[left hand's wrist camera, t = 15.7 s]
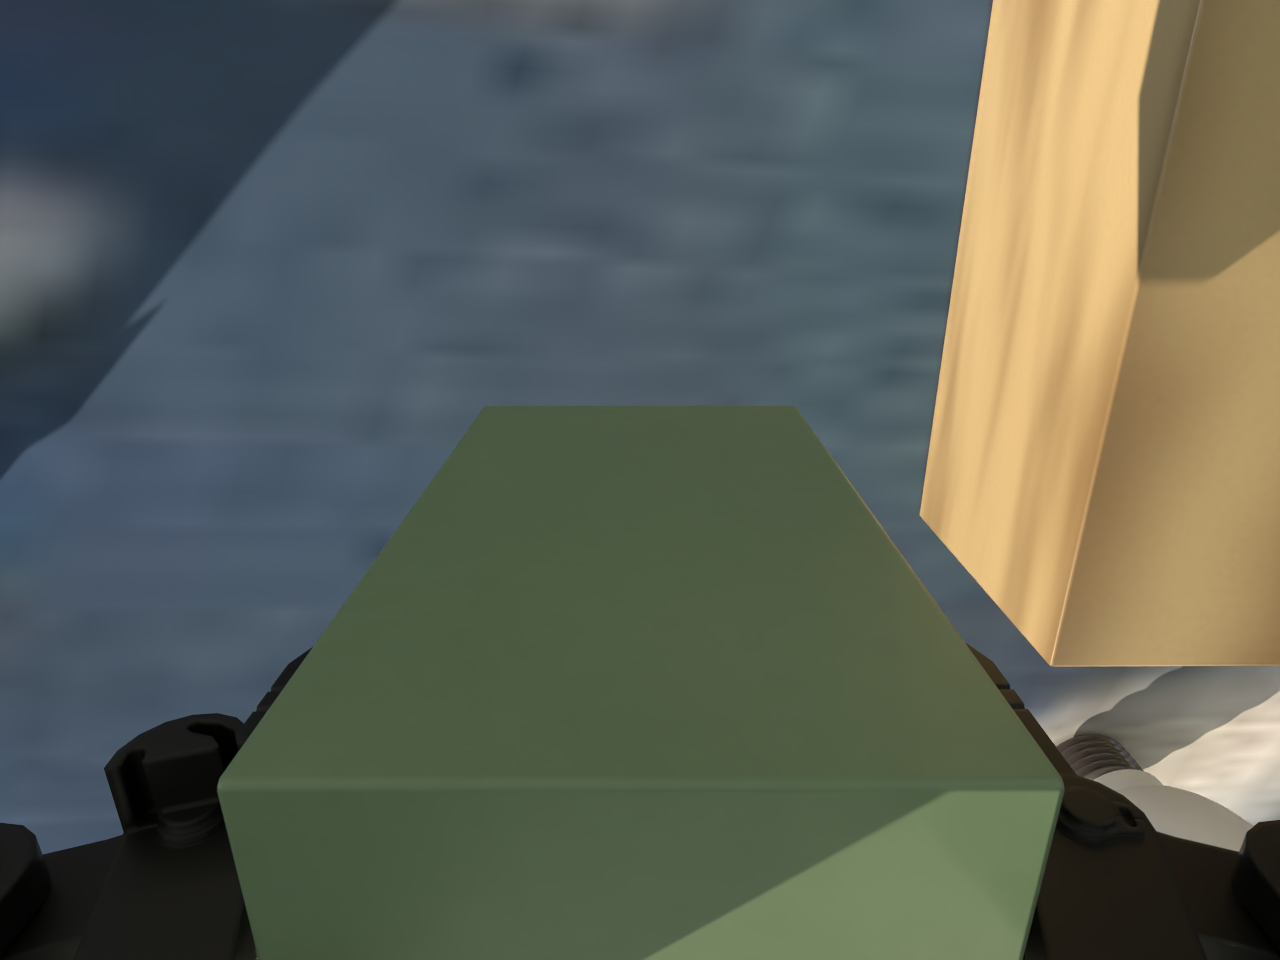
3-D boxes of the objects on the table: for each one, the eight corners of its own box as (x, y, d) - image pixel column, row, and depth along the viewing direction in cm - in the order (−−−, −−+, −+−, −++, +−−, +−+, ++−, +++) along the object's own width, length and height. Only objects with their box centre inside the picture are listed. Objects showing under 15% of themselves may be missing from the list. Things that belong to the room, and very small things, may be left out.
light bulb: (979, 780, 34) (1130, 1037, 24) (1097, 677, 32) (1317, 909, 22) (1081, 850, 35) (1264, 1121, 25) (1200, 756, 34) (1450, 1007, 23)
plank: (918, 515, 30) (1050, 667, 20) (1078, -605, 19) (1514, -1383, 9) (1125, 515, 30) (1351, 666, 20) (1402, -603, 19) (2152, -1375, 10)
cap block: (503, 670, 17) (331, 1274, 7) (483, 404, 15) (208, 783, 5) (776, 670, 17) (949, 1273, 7) (796, 405, 15) (1071, 783, 5)
